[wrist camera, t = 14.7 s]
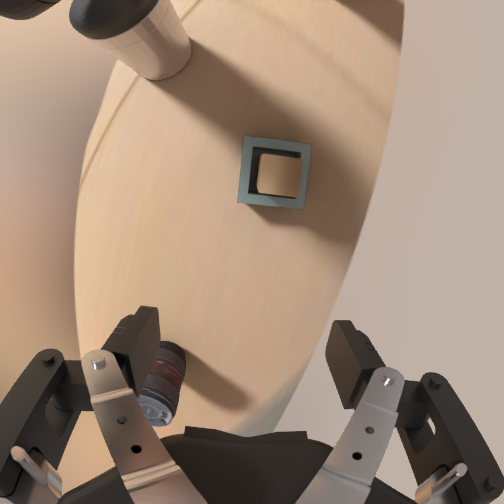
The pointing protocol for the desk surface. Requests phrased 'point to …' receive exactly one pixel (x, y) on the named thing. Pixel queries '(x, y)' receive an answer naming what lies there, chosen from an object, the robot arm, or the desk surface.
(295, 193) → the tan wooden block
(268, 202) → the slate open square box
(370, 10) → the desk surface
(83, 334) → the desk surface
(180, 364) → the camera lens
